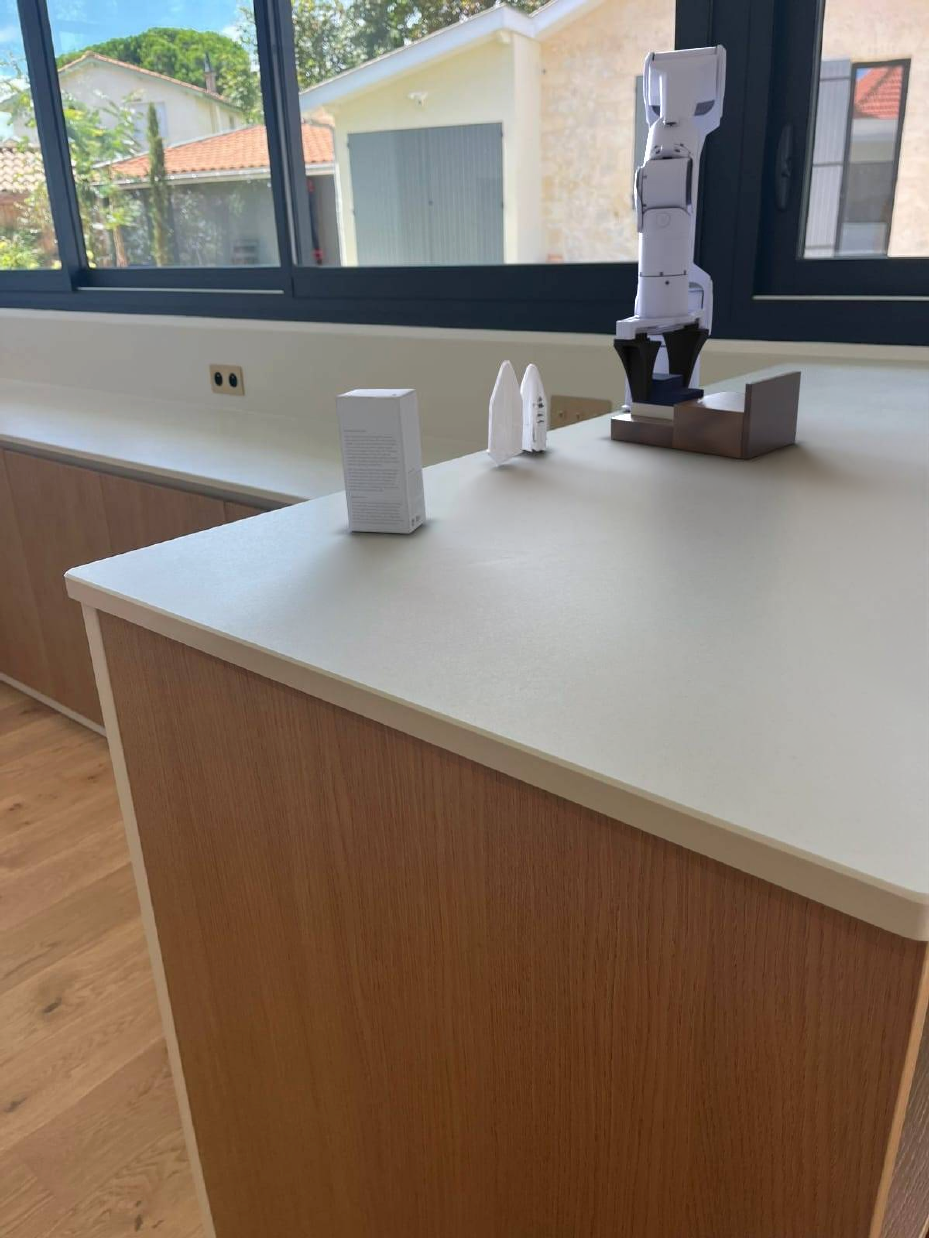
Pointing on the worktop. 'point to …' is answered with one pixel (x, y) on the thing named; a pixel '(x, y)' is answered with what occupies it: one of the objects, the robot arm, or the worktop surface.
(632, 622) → the worktop surface
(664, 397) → the navy stepped block
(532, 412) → the shaker set
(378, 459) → the cosmetic box
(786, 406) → the step shelf
